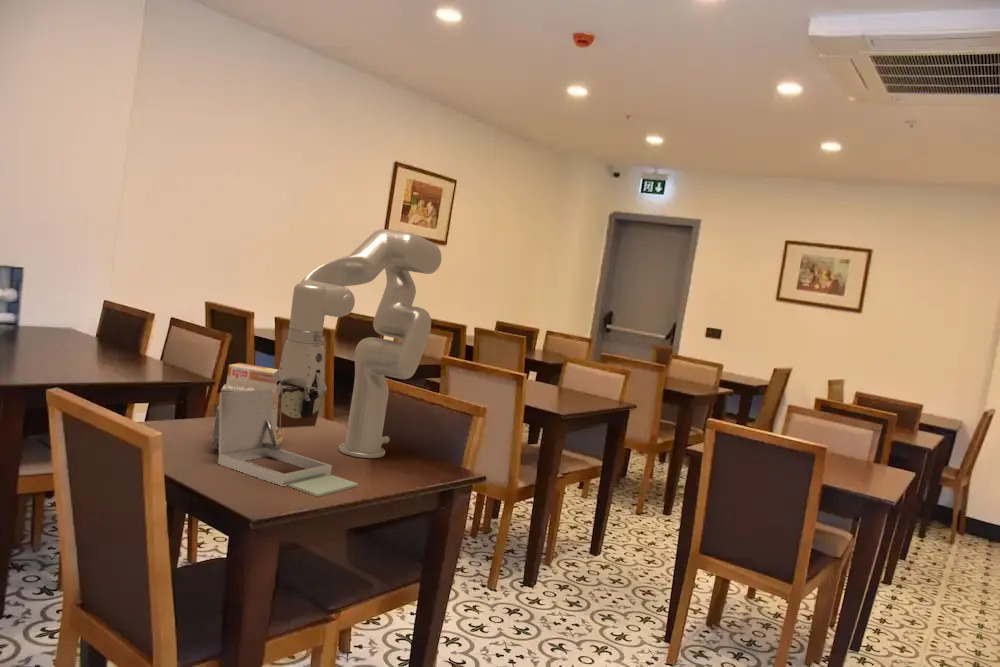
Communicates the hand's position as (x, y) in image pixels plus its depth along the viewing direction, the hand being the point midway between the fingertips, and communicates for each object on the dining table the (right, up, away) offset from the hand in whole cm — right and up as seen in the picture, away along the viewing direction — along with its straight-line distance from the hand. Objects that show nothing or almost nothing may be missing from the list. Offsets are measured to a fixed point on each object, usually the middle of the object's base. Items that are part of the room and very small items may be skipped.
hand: (295, 413), depth 174 cm
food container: (-1, -3, +1) cm, 3 cm away
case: (-6, -13, +2) cm, 15 cm away
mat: (+8, -16, -5) cm, 19 cm away
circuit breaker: (-20, -11, +12) cm, 26 cm away
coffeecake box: (-19, -10, +25) cm, 33 cm away
